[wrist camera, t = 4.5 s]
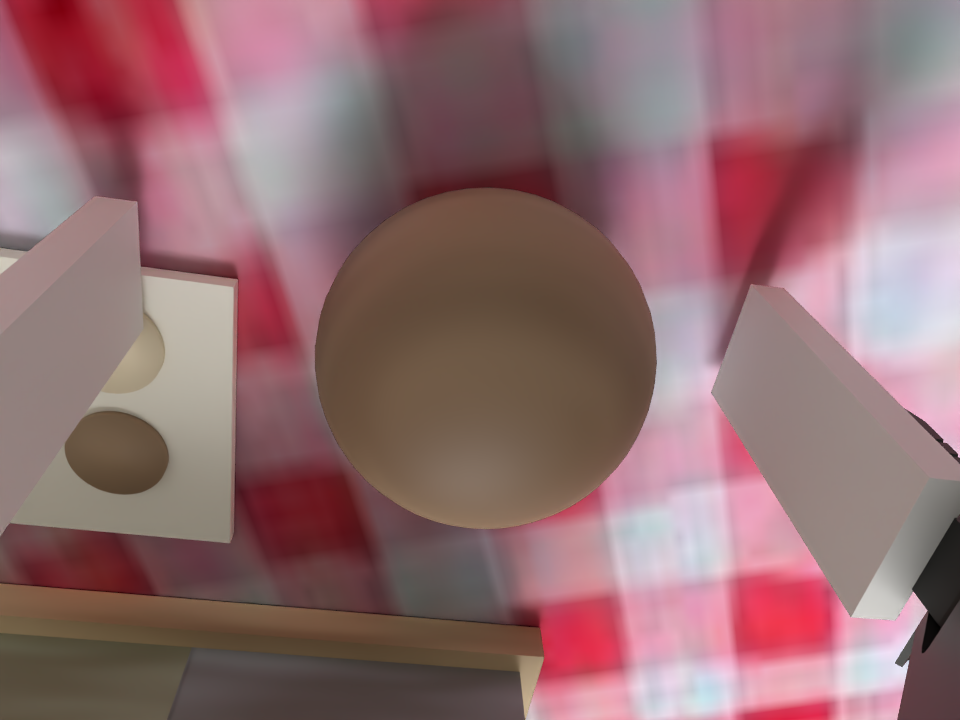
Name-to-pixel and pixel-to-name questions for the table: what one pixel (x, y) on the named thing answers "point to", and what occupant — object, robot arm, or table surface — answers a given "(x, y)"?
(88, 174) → the table surface
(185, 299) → the tile
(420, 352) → the walnut ball
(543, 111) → the table surface
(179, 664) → the divided open bin
